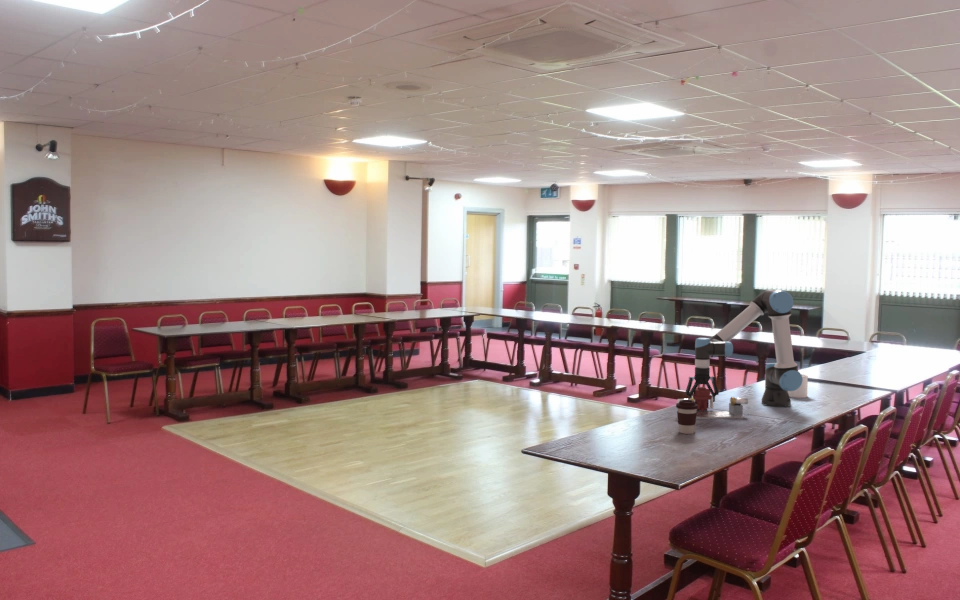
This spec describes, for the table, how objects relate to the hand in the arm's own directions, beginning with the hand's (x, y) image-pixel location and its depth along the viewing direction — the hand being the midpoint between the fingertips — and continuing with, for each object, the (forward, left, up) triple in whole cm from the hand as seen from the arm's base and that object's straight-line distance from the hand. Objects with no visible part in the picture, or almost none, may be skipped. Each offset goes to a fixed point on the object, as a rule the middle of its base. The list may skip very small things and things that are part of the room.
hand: (701, 408), depth 403 cm
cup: (-68, -35, -2) cm, 76 cm away
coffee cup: (+22, +47, -2) cm, 52 cm away
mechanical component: (0, 0, -1) cm, 1 cm away
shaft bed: (-1, +14, -1) cm, 14 cm away
